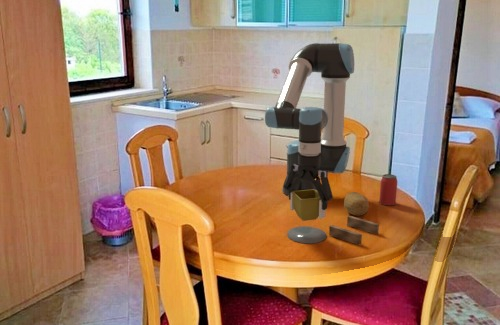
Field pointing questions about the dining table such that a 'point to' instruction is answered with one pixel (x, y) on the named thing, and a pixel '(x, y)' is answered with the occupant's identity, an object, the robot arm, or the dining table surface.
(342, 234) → the wooden blocks
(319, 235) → the grey round disc
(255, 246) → the dining table surface
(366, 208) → the potato
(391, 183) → the beer can
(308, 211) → the flower pot
